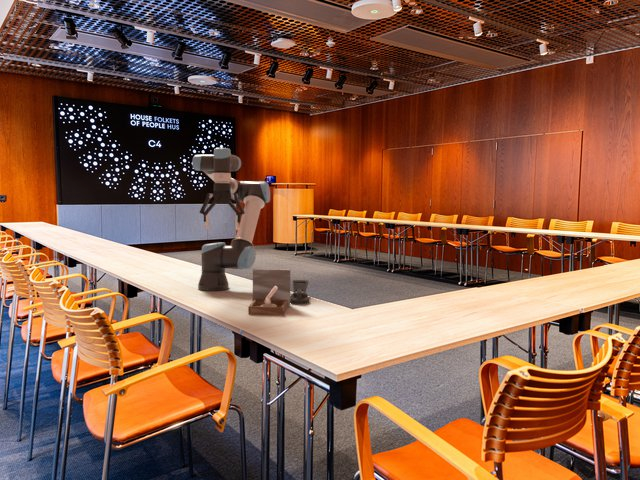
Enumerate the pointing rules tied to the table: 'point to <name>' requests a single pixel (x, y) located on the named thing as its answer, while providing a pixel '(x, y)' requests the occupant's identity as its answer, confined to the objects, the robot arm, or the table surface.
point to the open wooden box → (263, 286)
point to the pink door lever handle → (267, 300)
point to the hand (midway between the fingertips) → (222, 229)
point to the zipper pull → (299, 292)
